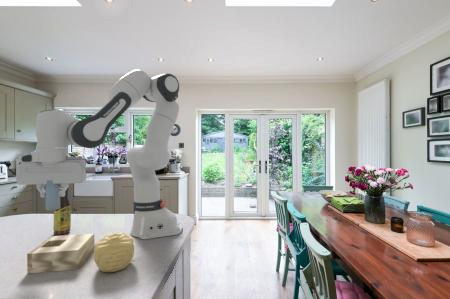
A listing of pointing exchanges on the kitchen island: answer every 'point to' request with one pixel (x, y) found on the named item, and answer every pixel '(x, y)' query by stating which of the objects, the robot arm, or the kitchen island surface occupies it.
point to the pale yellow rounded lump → (114, 252)
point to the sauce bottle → (62, 216)
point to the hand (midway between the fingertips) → (53, 196)
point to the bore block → (60, 253)
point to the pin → (52, 196)
